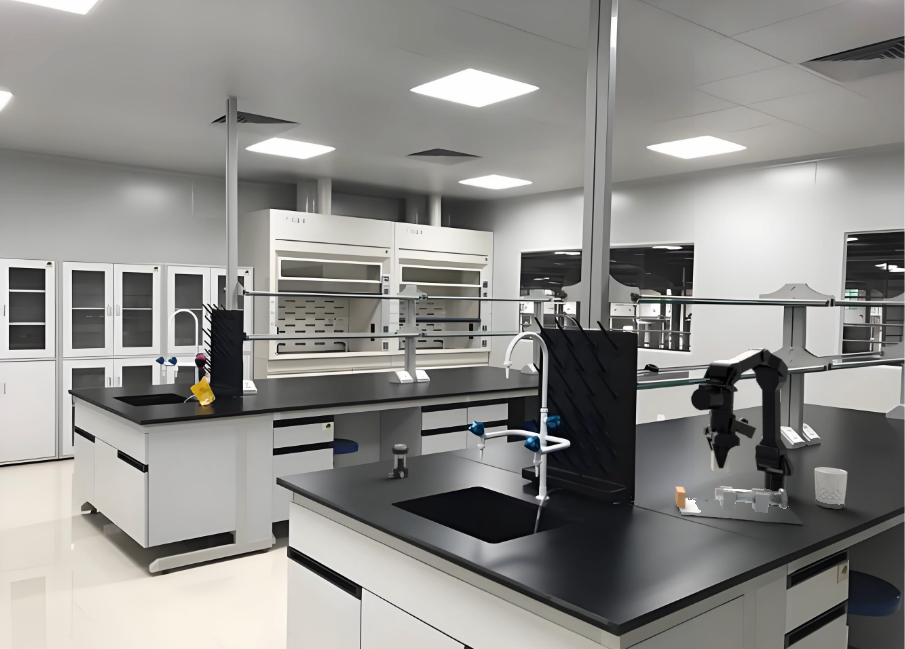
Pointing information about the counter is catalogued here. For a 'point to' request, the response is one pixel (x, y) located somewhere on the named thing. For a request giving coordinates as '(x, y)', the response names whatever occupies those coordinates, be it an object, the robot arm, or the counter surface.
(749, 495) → the shaft
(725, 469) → the block
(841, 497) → the white cup
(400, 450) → the push button
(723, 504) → the bearing rail
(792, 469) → the robot arm
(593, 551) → the counter surface
